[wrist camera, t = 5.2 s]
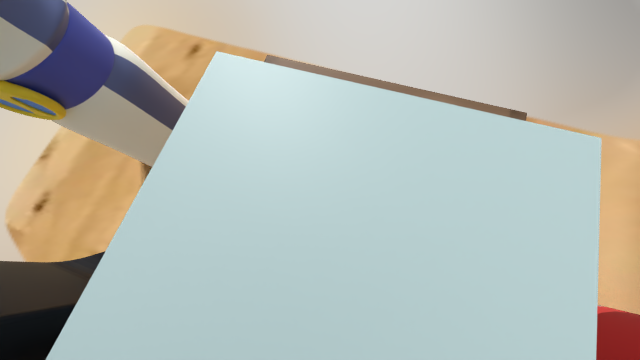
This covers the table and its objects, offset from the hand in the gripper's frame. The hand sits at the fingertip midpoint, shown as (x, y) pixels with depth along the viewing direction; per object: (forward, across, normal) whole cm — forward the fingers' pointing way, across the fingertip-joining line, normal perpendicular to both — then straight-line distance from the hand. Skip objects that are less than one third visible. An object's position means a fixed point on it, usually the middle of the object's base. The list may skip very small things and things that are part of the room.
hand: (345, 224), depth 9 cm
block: (+4, 0, +6) cm, 7 cm away
